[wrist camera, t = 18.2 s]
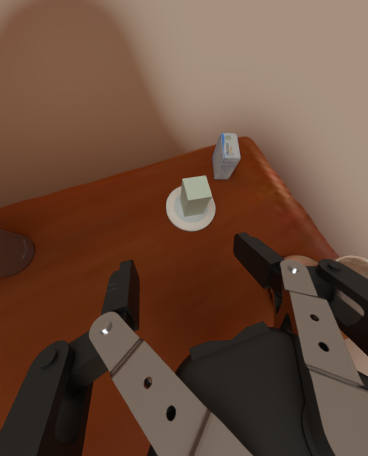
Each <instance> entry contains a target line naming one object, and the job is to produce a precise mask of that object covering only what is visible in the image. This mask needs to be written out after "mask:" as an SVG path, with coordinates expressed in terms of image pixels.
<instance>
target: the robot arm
mask: <svg viewBox="0 0 368 456" xmlns="http://www.w3.org/2000/svg"><path fill="white" fill-rule="evenodd" d="M233 252H234V255H235V257H236V258H237V259H238V260H239V261H240V262H241V264H242V265H243V266H244V267H245V268H246V269H247V270H248V272H249V273H250V274H251V275H252V276H253V277H254V278H255V280H256V281H257V282H258V283H259V284H260V285H261V286H262V288H263V289H267V288H271V289H272V300H273V310H274V327H267V326H266V324H265V323H264V321H262V322H260V323H257V324H254V325H252V326H249V327H246V328H245V329H244V330H243V331H241V332H240V333H239V334H238V335H237V336H235V337H234V338H233V339H232V340H227V341H208V342H205V343H203V344H200V345H197V346H194V347H192V348H189V351H190V355H189V356H188V357H187V358H186V359H185V360H184V361H183V362H182V363H181V364H180V366H179V367H178V369H177V370H176V372H175V373H174V372H173V371H172V370H171V369H170V368H169V367H168V366H167V365H166V364H165V363H164V361H163V360H162V359H161V358H160V357H159V356H158V355H157V354H156V353H155V352H154V351H153V349H152V348H151V347H150V346H149V345H148V344H147V343H146V342H145V341H144V340H143V339H140V338H139V337H138V336H137V335H136V334H135V333H134V331H136V330H139V291H140V282H139V276H138V273H137V270H136V268H135V265H134V262H133V260H128V261H124V262H121V263H120V269H119V270H118V271H114V273H113V274H112V275H111V277H110V279H109V283H108V287H107V292H106V296H105V300H104V304H103V308H102V312H101V316H100V317H99V318H98V319H97V320H96V321H95V322H94V323H93V325H92V326H91V328H90V330H89V331H88V332H87V333H85V334H84V335H82V336H80V337H79V338H77V339H75V340H74V341H72V342H70V343H69V344H68V343H67V342H66V341H57V342H54V343H52V344H51V345H49V346H48V347H46V348H45V349H44V350H43V351H42V352H41V353H40V354H39V355H38V356H37V357H36V358H35V360H34V361H33V363H32V364H31V366H30V368H29V370H28V373H27V375H26V377H25V379H24V381H23V384H22V386H21V388H20V390H19V392H18V394H17V397H16V399H15V401H14V403H13V405H12V407H11V410H10V412H9V414H8V416H7V418H6V421H5V423H4V425H3V427H2V429H1V431H0V456H82V451H83V444H84V438H85V432H86V425H87V419H88V413H89V406H90V400H91V394H92V387H93V381H94V380H96V379H97V378H98V377H100V376H101V375H102V374H104V373H105V372H106V371H108V370H109V371H110V373H111V378H112V380H113V381H114V383H115V385H116V387H117V388H118V390H119V392H120V393H121V395H122V397H123V398H124V400H125V402H126V403H127V405H128V407H129V408H130V410H131V411H132V413H133V415H134V416H135V418H136V420H137V421H138V423H139V425H140V426H141V428H142V430H143V431H144V433H145V435H146V436H147V438H148V440H149V441H150V443H151V445H150V448H149V451H148V454H147V456H368V376H366V375H364V374H363V373H361V372H359V371H357V370H356V367H355V365H354V363H353V360H352V358H351V355H350V353H349V351H348V349H347V346H346V344H345V341H344V339H343V337H342V334H341V332H340V330H341V331H342V332H343V333H344V334H346V335H347V336H348V337H349V338H350V339H351V340H352V341H353V342H354V343H355V344H356V345H357V346H358V347H359V348H360V349H361V350H362V351H363V352H364V353H365V354H366V355H367V356H368V279H367V278H365V277H364V276H362V275H360V274H359V273H357V272H355V271H354V270H352V269H351V268H349V267H347V266H346V265H344V264H342V263H340V262H337V261H334V260H330V259H323V260H320V261H319V263H318V265H317V266H304V265H303V264H301V263H299V262H297V261H294V260H285V259H284V258H282V257H281V256H280V255H279V254H277V253H276V252H275V251H273V250H272V249H271V248H269V247H268V246H267V245H266V244H264V243H263V242H262V241H260V240H259V239H257V238H254V237H251V236H249V235H248V234H247V233H245V232H243V233H239V234H236V235H235V236H234V247H233ZM33 255H34V245H33V242H32V241H31V240H30V239H29V238H28V237H26V236H24V235H20V234H16V233H12V232H8V231H4V230H0V277H7V276H12V275H14V274H17V273H18V272H20V271H22V270H23V269H24V268H25V267H26V266H27V265H28V264H29V263H30V261H31V260H32V257H33ZM340 291H341V292H343V293H344V294H345V295H347V296H348V297H349V298H350V299H352V300H353V301H354V302H356V303H357V304H358V305H359V306H360V307H361V308H362V309H363V311H364V315H363V316H362V315H361V314H360V313H358V312H357V311H356V310H355V309H353V308H352V307H351V306H350V305H348V304H347V303H346V302H345V301H343V300H342V299H341V298H340V297H338V296H337V295H338V293H339V292H340ZM339 329H340V330H339Z"/></svg>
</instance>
